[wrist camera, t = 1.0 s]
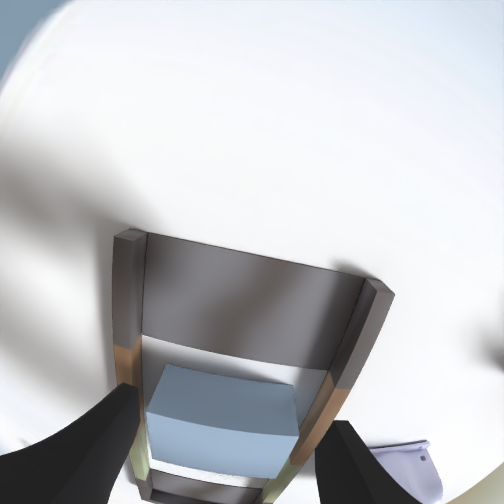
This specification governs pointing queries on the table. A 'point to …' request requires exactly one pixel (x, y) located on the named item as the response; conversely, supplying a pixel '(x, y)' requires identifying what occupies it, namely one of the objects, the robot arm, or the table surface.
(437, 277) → the table surface
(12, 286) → the table surface
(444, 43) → the table surface
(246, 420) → the blue block
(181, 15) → the table surface
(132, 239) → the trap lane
